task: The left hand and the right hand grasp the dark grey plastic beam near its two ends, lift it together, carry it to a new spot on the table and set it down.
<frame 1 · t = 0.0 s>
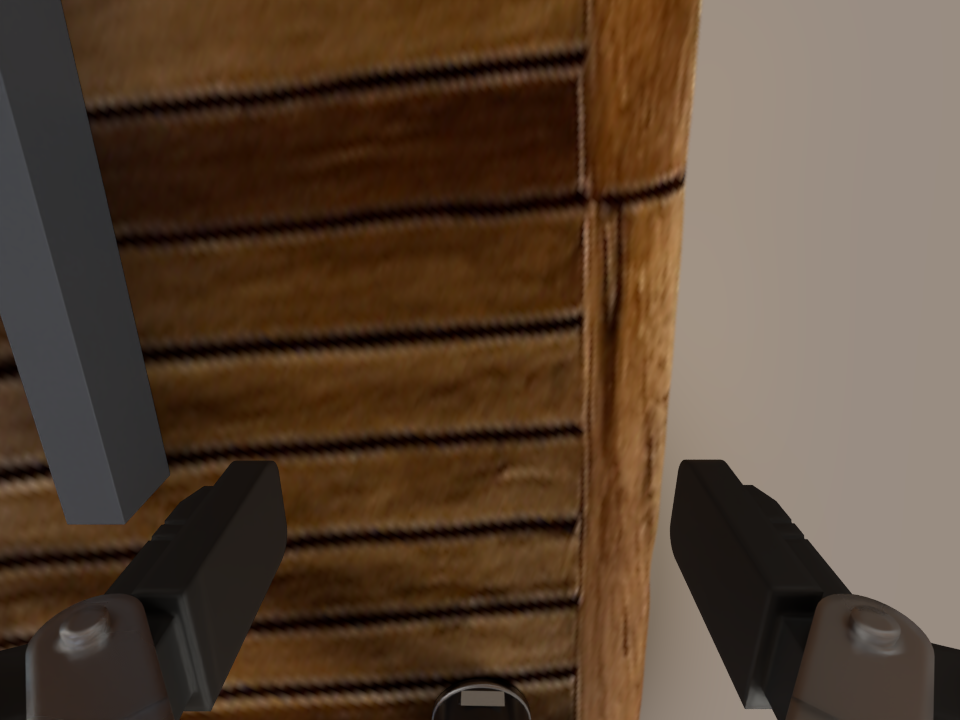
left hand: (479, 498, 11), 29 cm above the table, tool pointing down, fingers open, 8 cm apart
beam: (40, 53, 35), on the table
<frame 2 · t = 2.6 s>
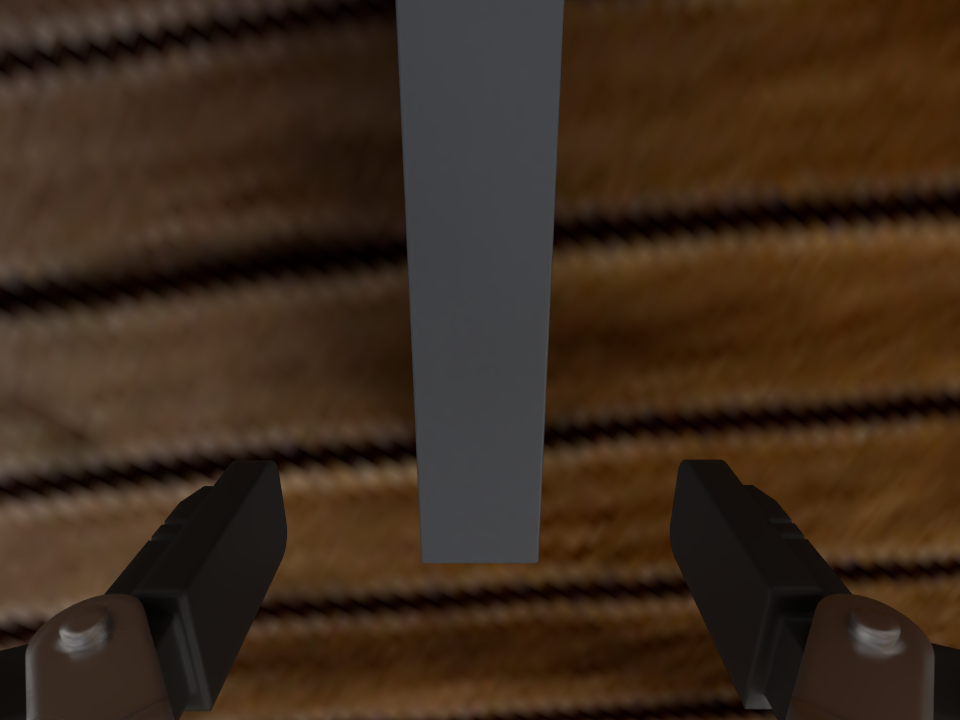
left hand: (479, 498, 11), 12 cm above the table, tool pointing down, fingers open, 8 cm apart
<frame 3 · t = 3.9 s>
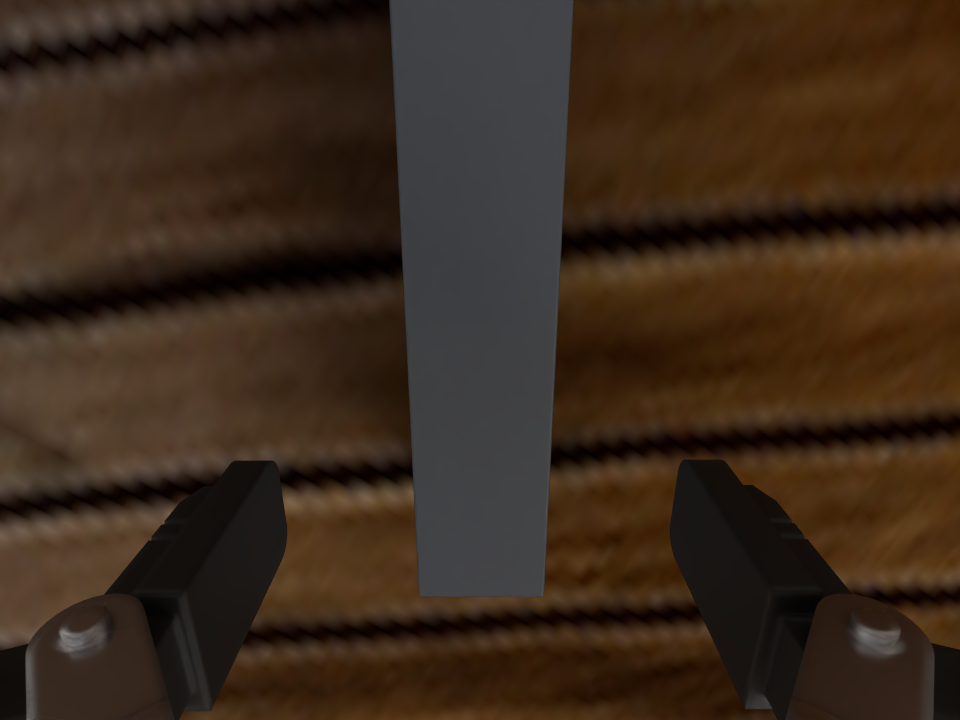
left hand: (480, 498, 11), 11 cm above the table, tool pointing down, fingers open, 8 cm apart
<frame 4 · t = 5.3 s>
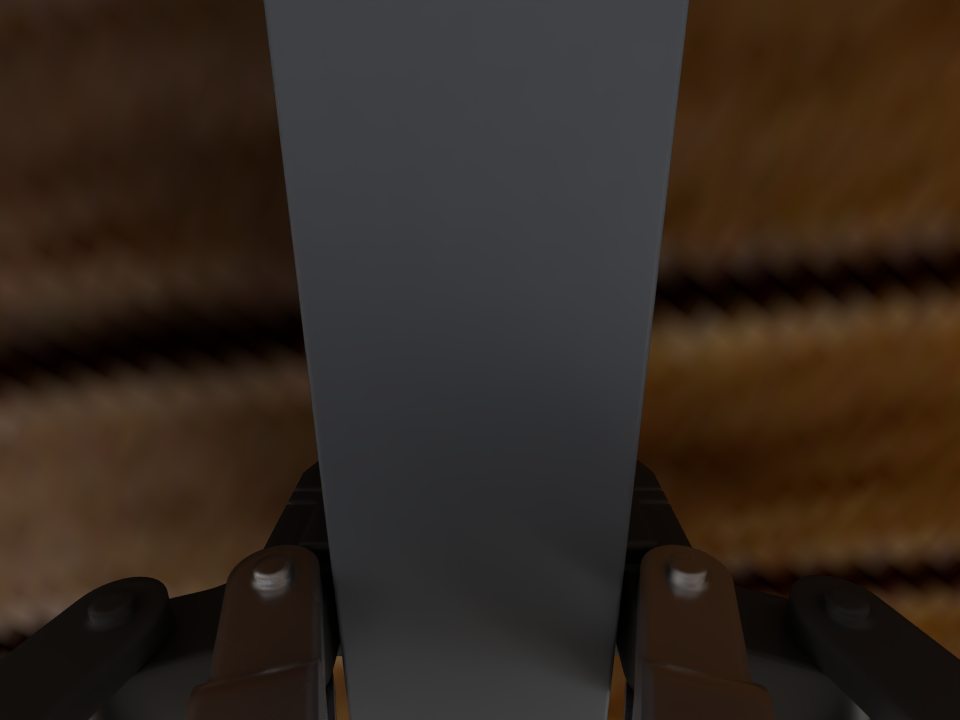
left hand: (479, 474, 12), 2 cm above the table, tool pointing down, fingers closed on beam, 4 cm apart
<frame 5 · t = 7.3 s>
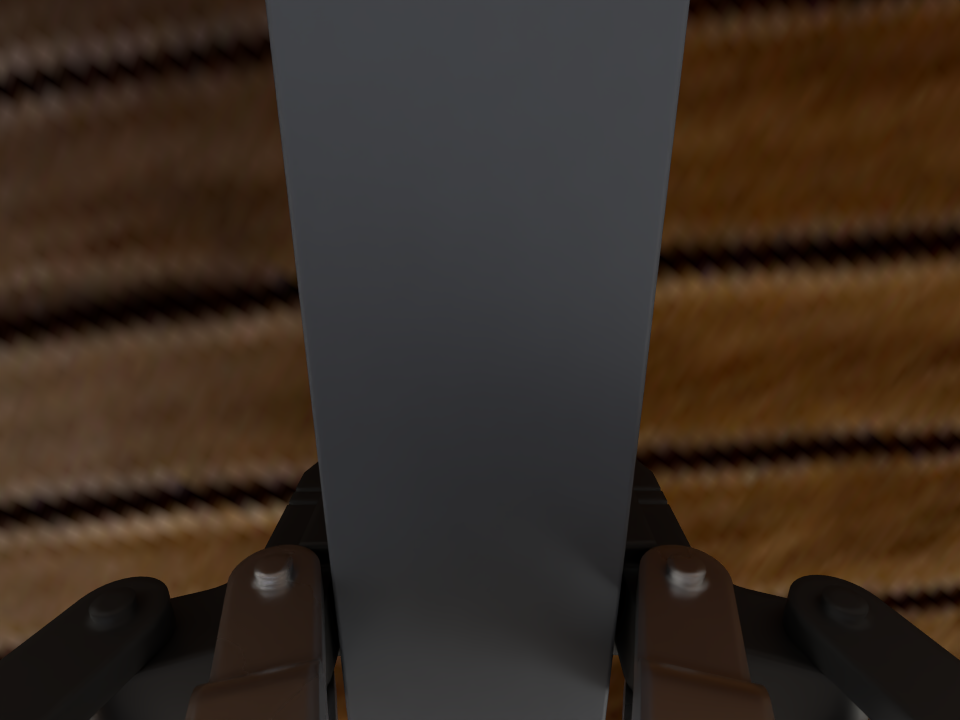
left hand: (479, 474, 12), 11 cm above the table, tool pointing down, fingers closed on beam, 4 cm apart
when the right hand's fingers open (1 cm above the table, at t = 9.2 s): beam drops 1 cm, on the table.
when the left hand's fingers open (3 cm above the table, at t = 9.4 s): beam stays where it is, on the table.
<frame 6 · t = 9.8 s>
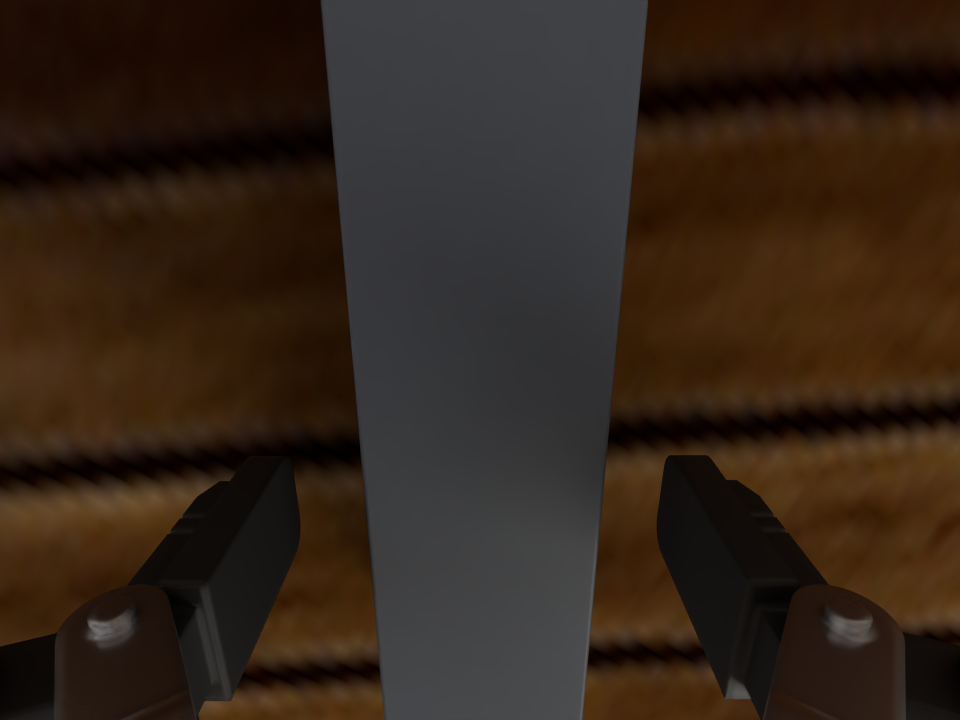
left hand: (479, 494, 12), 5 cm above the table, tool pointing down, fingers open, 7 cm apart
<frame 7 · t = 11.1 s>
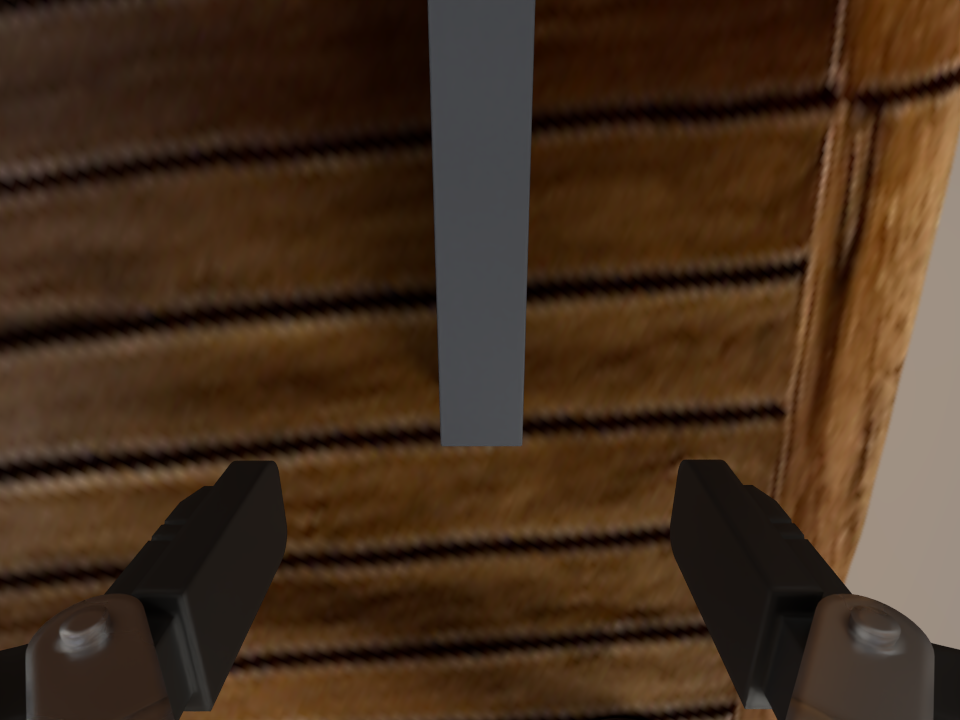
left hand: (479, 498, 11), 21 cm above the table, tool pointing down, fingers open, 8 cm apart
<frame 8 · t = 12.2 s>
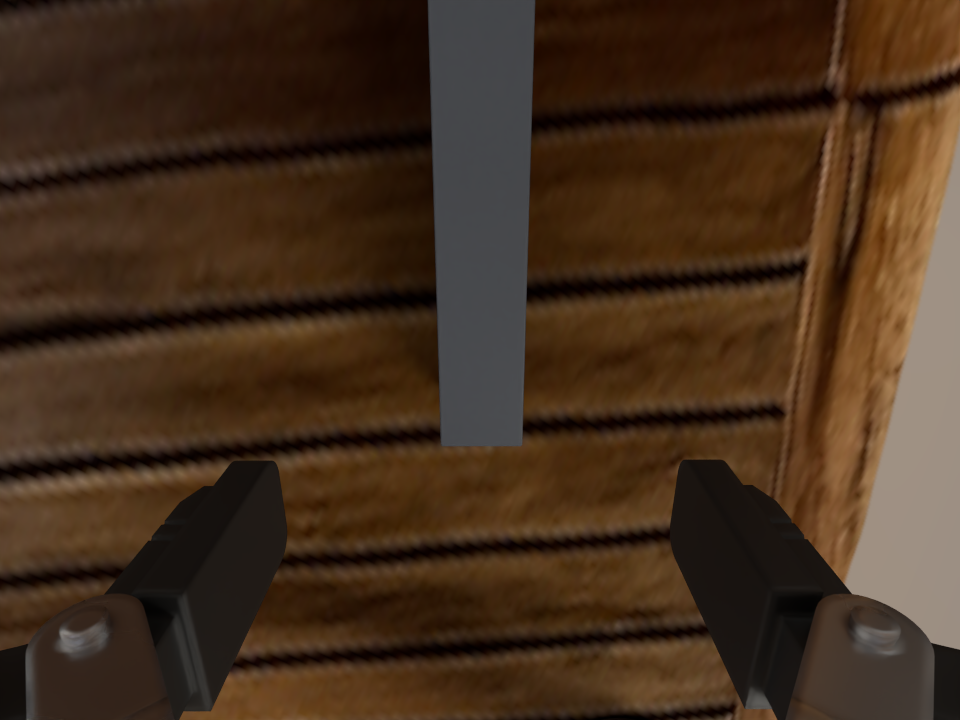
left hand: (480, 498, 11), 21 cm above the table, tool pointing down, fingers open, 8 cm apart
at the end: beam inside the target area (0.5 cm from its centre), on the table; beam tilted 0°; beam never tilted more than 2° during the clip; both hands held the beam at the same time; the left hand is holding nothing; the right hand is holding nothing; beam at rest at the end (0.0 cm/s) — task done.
